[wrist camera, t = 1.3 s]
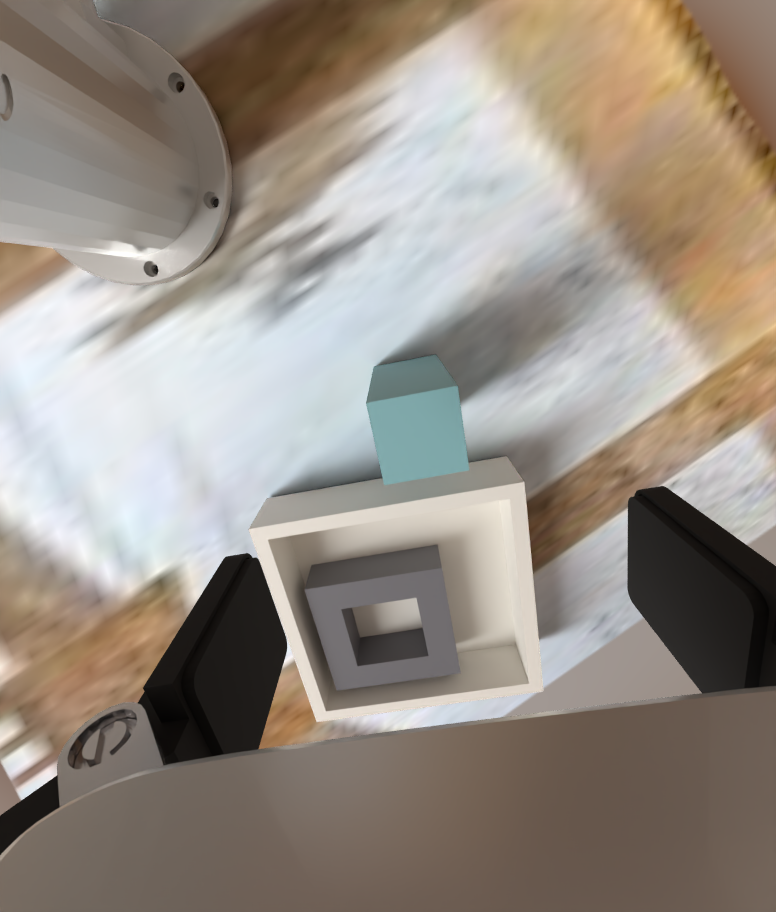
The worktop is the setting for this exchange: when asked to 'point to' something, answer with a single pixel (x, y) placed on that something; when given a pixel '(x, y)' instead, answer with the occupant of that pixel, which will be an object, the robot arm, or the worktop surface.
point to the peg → (416, 420)
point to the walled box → (405, 590)
